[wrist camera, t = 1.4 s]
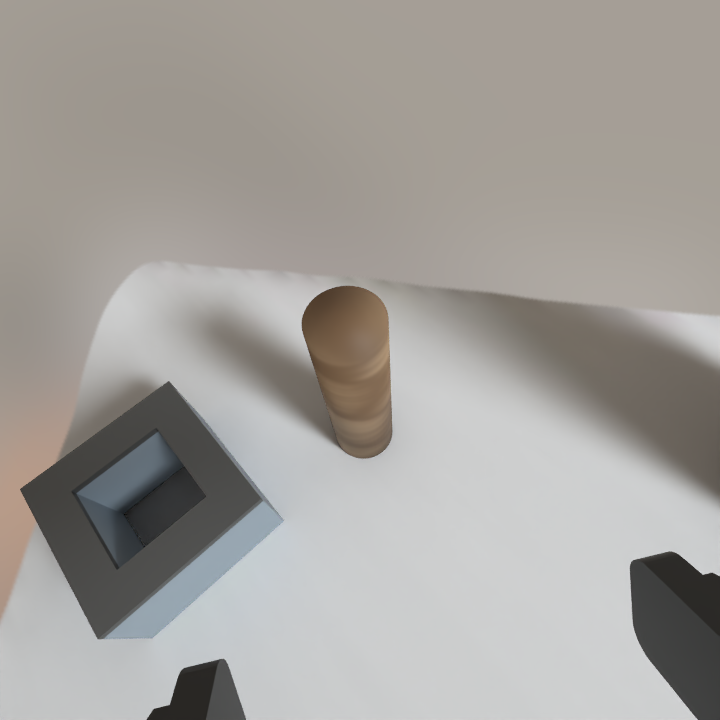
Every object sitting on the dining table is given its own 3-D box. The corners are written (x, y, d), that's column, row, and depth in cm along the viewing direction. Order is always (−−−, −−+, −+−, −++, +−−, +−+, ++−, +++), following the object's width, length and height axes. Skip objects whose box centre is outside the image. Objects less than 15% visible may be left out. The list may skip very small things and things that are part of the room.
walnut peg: (366, 394, 36) (348, 272, 24) (404, 432, 34) (406, 321, 22) (324, 430, 35) (284, 320, 23) (362, 470, 33) (340, 375, 21)
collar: (202, 417, 36) (168, 381, 31) (283, 520, 32) (261, 498, 27) (79, 512, 33) (19, 489, 28) (152, 638, 29) (97, 639, 24)
